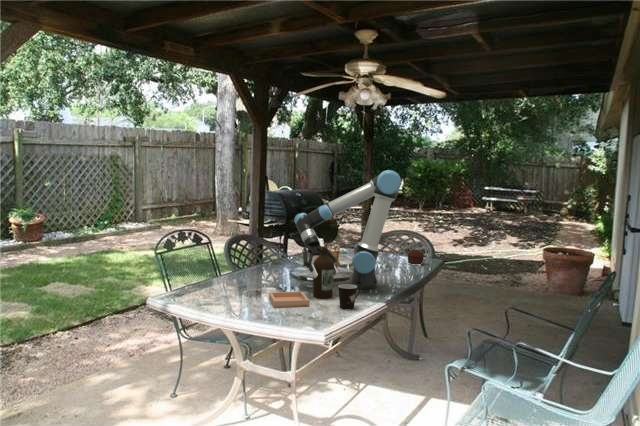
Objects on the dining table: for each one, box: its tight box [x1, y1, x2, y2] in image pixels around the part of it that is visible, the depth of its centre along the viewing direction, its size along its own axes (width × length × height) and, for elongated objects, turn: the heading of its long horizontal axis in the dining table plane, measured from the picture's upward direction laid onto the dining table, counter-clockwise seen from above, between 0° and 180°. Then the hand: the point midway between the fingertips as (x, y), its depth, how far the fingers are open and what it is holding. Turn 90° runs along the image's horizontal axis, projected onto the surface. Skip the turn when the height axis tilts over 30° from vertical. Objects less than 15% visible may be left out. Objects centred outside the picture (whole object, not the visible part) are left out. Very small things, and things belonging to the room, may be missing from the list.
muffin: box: [407, 249, 425, 264], centre depth 341 cm, size 12×11×10 cm
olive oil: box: [312, 245, 335, 300], centre depth 247 cm, size 11×11×25 cm
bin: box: [268, 291, 310, 309], centre depth 236 cm, size 16×16×3 cm
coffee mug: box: [337, 283, 361, 310], centre depth 230 cm, size 12×9×10 cm
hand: (326, 275), depth 245 cm, fingers open, 11 cm apart
